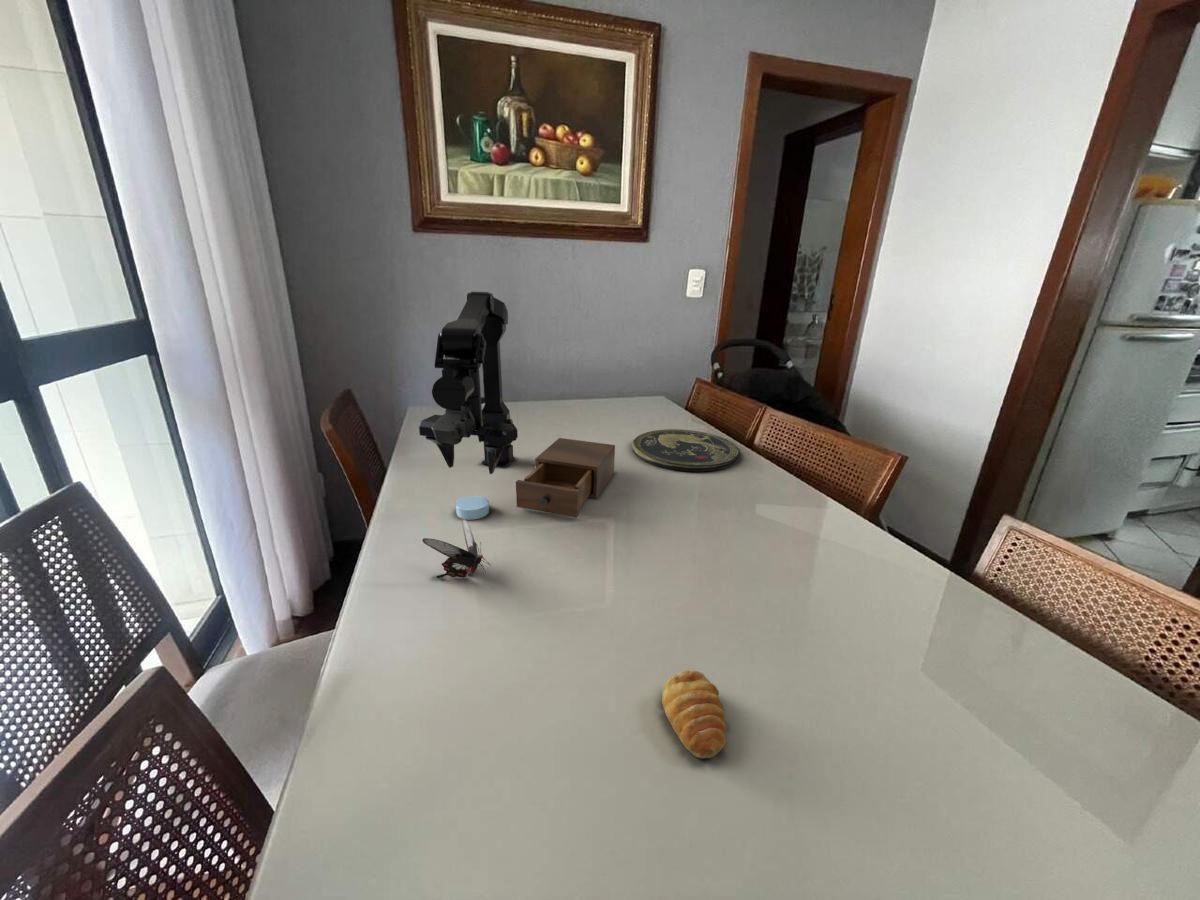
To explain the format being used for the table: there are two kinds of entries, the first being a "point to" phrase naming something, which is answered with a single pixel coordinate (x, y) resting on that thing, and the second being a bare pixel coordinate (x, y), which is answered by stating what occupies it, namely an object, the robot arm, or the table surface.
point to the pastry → (695, 713)
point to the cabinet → (582, 459)
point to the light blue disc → (472, 507)
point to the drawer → (555, 489)
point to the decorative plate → (686, 450)
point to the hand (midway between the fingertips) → (471, 470)
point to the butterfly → (458, 554)
